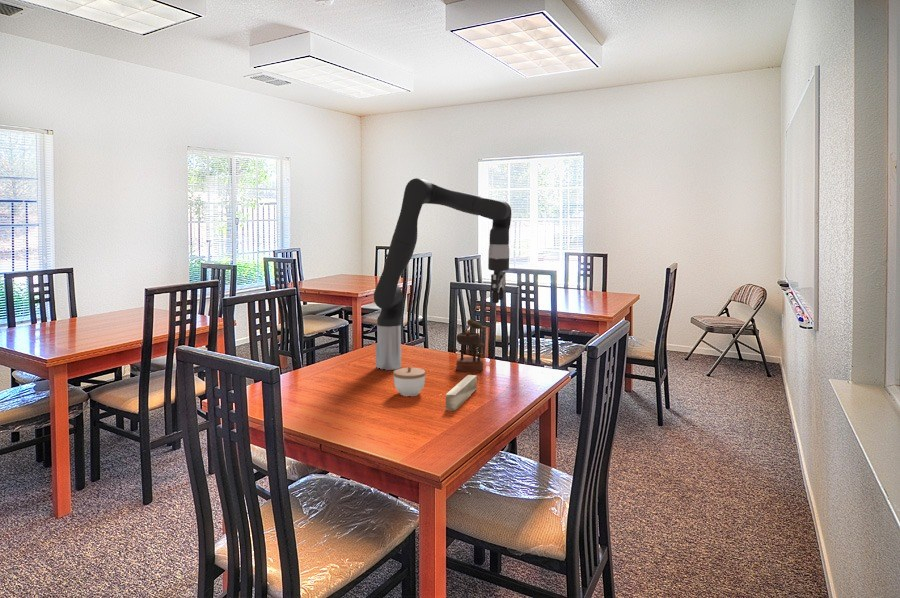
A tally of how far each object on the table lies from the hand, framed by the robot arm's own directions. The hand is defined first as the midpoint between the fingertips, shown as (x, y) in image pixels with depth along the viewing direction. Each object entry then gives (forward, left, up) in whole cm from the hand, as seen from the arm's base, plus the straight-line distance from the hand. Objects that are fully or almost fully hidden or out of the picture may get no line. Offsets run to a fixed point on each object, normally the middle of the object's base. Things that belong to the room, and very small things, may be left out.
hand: (497, 301), depth 211 cm
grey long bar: (-4, -30, -29) cm, 41 cm away
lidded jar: (-23, -30, -29) cm, 47 cm away
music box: (-14, +8, -29) cm, 33 cm away
